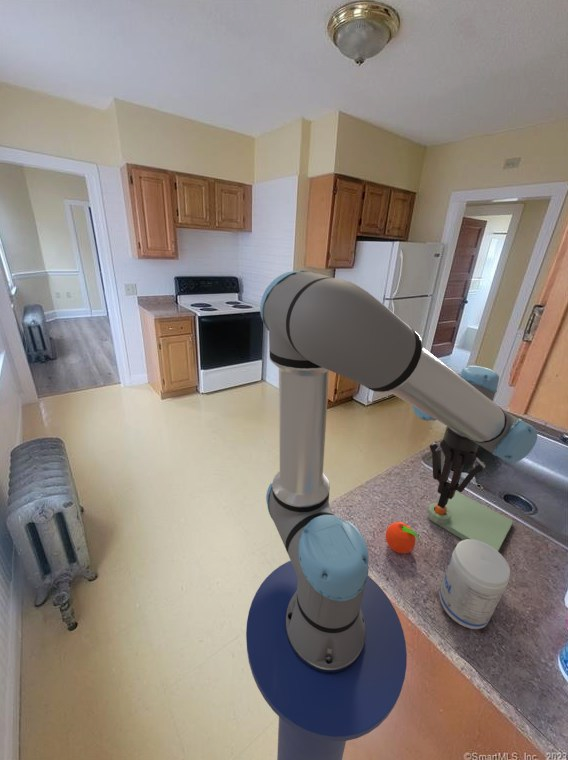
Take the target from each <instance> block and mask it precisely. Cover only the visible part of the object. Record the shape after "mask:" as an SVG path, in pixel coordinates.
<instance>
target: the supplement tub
mask: <svg viewBox="0 0 568 760" xmlns="http://www.w3.org/2000/svg"><path fill="white" fill-rule="evenodd" d="M510 577H511V568H510V564H509V563H508V561H507V560H506V559H505V557H504V556H503V555H502V554H501V552H499V551H497V550H495V549H494V548H493V547H491V546H489V545H488V544H486V543H483V542H481V541H478V540H473V539H466V540H462V539H461V540H460V541H459V542H458V543H457V544H456V547H455V548H454V549H453V552H452V554H451V557H450V560H449V564H448V566H447V568H446V571H445V574H444V577H443V580H442V582H441V586H440V588H439V593H438V595H439V600H440V603H441V606H442V608H443V609H444V611H445V612H446V614H447V615H448V616H449V617H450V618H451V619H452V620H453V621H454V622H456V623H457V624H458V625H460V626H462V627H465V628H467V629H470V630H481V629H483V628H485V627H486V626H487V625H488V624H489V622H490V621H491V618H492V616H493V614H494V612H495V610H496V608H497V606H498V604H499V602H500V600H501V598H502V596H503V593H504V592H505V591H506V588H507V586H508V583H509V582H510Z"/></svg>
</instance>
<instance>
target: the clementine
mask: <svg viewBox="0 0 568 760" xmlns="http://www.w3.org/2000/svg"><path fill="white" fill-rule="evenodd" d="M416 538H417V540H419V542H421V539H420V537H419V536H418V534H417V533H416V532H415V531H414V530H413V529H412V528H411V527H410V526H409V525H408V524H407V523H404V522H400V521H395V522H393V523H391V524H390V525H388V527H387V528H386V530H385V541H386V543H387V545H388V546H389V548H390V549H391V550H393V552H395V553H398V554H407V553H409V552H411V551H412V550H413V549H414V547H415V545H416Z"/></svg>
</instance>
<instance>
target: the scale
mask: <svg viewBox="0 0 568 760" xmlns="http://www.w3.org/2000/svg"><path fill="white" fill-rule="evenodd" d="M436 504H438V502H434V503H430V505H429V506H428V509H427V515H428V516H429V520H430V521H431V522H432V523H435V524H436V525H437V526H439V527H441V528H442V529H444V530H446V531H447V532H449V533H451V534H452V535H454V536H456V537H457V538H459V539H460V540H461V541H462V540H466V539H473V540H478V541H481V542H483V543H486V544H488V545H489V546H491V547H493V548H494V549H495V550H497V551H498V552H499V551H500V549H501V547H502V545H503V543H504V542H505V539H506V538H507V536H508V534H509V532H510V530H511V528H512V526H513V523H514V520H512V519H511V518H509V517H507V516H505V515H503V514H501V513H500V512H497V511H495V510H493V509H491V508H489V507H487V506H486V505H484V504H482V503H480V502H479V501H476V500H474V499H472V498H470V497H468V496H466V495H464V494H463V493H462V492H459V491H458V490H456V492H455V495H454V497H453V498H452V499H448V503H447V504H446V508H447V509H446V513H445V515H439V514H437V513H436V512H435V507H436Z"/></svg>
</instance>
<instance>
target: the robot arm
mask: <svg viewBox="0 0 568 760" xmlns="http://www.w3.org/2000/svg"><path fill="white" fill-rule="evenodd" d="M259 311H260V317H261V320H262V322H263V325H264V327H265V329H266V330H267V331H268V347H269V348H268V349H269V350H268V351H269V360H270V362H271V363H272V364H274V365H275V366H276V367H277V368H278V427H279V428H278V431H279V432H278V436H279V437H278V439H279V441H278V442H279V444H278V445H279V450H278V451H279V471H277V473H276V474H275V475H274V476H273V479H272V482H271V483H270V484H269V485H268V487H267V489H266V496H265V499H266V500H265V501H266V505H267V511H268V514H269V516H270V518H271V520H272V521H273V524H274V526H275V528H276V530H277V531H278V535H279V537H280V539H281V541H282V544H283V546H284V548H285V551H286V553H287V555H288V557H289V561H291V562H292V565H293V567H294V569H295V572H296V575H297V579H298V583H297V591H296V592H295V594H294V595H293V596H292V598H291V600H290V602H289V604H288V608H287V612H286V634H287V638H288V641H289V644H290V646H291V648H292V650H293V652H294V653H295V655H296V656H297V657H298V659H299V660H300V661H301V662H302V663H303V664H305V665H306V666H307V667H309V668H310V669H312V670H314V671H317V672H319V673H323V674H337V673H341V672H343V671H345V670H347V669H349V668H350V667H351V666H353V665H354V664H355V662H356V661H357V660H358V658H359V657H360V655H361V652H362V650H363V646H364V641H365V635H366V626H365V620H364V616H363V613H362V611H361V608H360V606H361V602H362V597H363V593H364V588H365V584H366V580H367V576H369V570H370V569H369V568H370V567H369V549H368V545H367V542H366V540H365V538H364V536H363V535H362V533H361V531H360V530H359V529H358V527H357V526H355V525H354V524H353V523H352V522H351V521H349V520H347V519H346V520H342V517H341V516H338V515H336V514H335V512H334V511H333V509H332V508H331V506H330V488H331V487H330V480H329V479H328V477H327V476H326V475H325V473H324V463H325V462H324V461H325V445H326V431H327V430H326V429H327V415H328V397H329V382H330V381H329V380H330V372H332V373H335V374H337V375H339V376H342V377H343V378H346V379H349V380H350V381H353V382H355V383H357V384H359V385H361V386H363V387H365V388H367V389H369V390H371V391H372V392H376V393H381V394H383V393H390V394H392V395H393V396H395V397H397V398H399V399H400V400H401V401H404V402H406V403H407V404H409V405H411V408H412V410H413V413H414V414H415V415H416V417H418V419H420V420H422V421H426V422H427V421H438V422H439V423H440V424H443V425H445V426H446V428H445V430H444V431H445V432H444V434H443V439H442V440H440V442H439V441H435V440H434V441H433V442H432V443H431V444H429V449H430V451H431V458H432V459H431V460H432V462H431V464H432V478H433V480H436V481H438V486H437V491H436V492H437V494H439V498H438V502H437V503H438V506H440V507H442V508H444V507H445V506H446V504H447V503H448V499H452V498H453V497H454V495H455V492H456V491H457V492H459V493H462V492H463V491H464V490H465V489H466V487H467V486H469V484H470V482H471V481H472V480H473V478H474V477H476V475H477V474H478V473H480V472H483V471H484V469H485V468H486V467H487V463H486V462H484V461H481V460H480V458H479V454H478V449H479V446H480V447H481V448H483V449H484V450H486V451H487V452H489V453H490V454H492V455H493V456H495V457H497V458H499V459H501V460H503V461H505V462H507V463H509V464H510V463H511V464H512V463H517V462H521V461H522V460H523V459H525V458H526V457H527V456H528V455H529V454H530V453H531V451H532V450H533V449H534V447H535V446H536V444H537V441H538V432H537V429H536V428H535V427H534V426H533V425H532V424H529V423H528V422H525V421H524V420H523V419H522V418H518V417H516V416H514V415H512V414H511V413H509V412H507V411H506V410H505V409H504V408H502V407H500V406H499V405H498V404H497V403H496V402H494V399H495V396H496V394H497V392H498V386H499V381H500V376H499V374H498V372H497V371H495V370H492V369H491V368H487V367H485V366H479V365H467V366H464V368H462V369H461V372H460V374H458V373H457V372H455V371H454V370H452V369H451V368H450V367H448V366H447V365H446V364H445V363H444V362H443V361H441V360H440V359H439V358H437V357H436V356H435V355H433V354H432V353H431V352H430V351H428V350H427V349H426V348H424V343H423V340H422V338H421V336H420V334H419V333H418V332H417V331H416V330H415V329H413V328H412V327H411V326H409V324H407V323H406V322H405V321H403V320H402V319H401V317H399V316H398V315H396V314H395V313H394V312H393V311H392V310H390V308H388V306H386V305H385V304H384V303H382V302H381V301H380V300H379V299H378V298H376V297H375V296H373V295H372V293H370V292H369V291H367V290H365V289H364V288H362V287H360V286H359V285H357V284H356V283H354V282H352V281H350V280H346V279H342V278H338V277H331V276H328V275H324V274H322V273H321V274H320V273H318V272H315V271H311V270H291V271H287V272H284V273H281V274H280V275H278V276H276V277H275V279H273V280H272V281H271V282H270V283H269V285H268V286H267V287H266V288H265V290H264V291H263V295H262V297H261V300H260V310H259ZM442 453H443V455H444V461H443V467H442ZM472 462H473V463H472ZM453 463H454V464H455V465H454V470H453V474H452V477H451V479H450V482H449V477H450V474H451V470H452V467H453ZM470 463H472V469H471V470H470V471H469V472H468V474H467V475H466V477H465V478H464V479H463V481H462V482H461V483H460V480H461V476H462V473H463V470H464V467H465V466H466V465H468V464H470Z"/></svg>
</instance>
